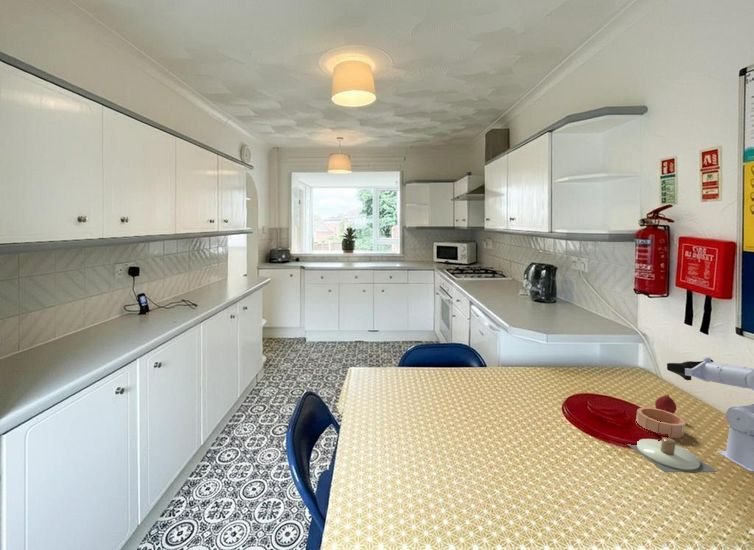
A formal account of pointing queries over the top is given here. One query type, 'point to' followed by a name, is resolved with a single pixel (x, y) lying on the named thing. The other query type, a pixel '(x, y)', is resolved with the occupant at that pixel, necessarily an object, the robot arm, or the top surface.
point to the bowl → (668, 423)
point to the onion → (666, 404)
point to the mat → (664, 468)
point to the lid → (668, 453)
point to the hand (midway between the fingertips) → (676, 365)
